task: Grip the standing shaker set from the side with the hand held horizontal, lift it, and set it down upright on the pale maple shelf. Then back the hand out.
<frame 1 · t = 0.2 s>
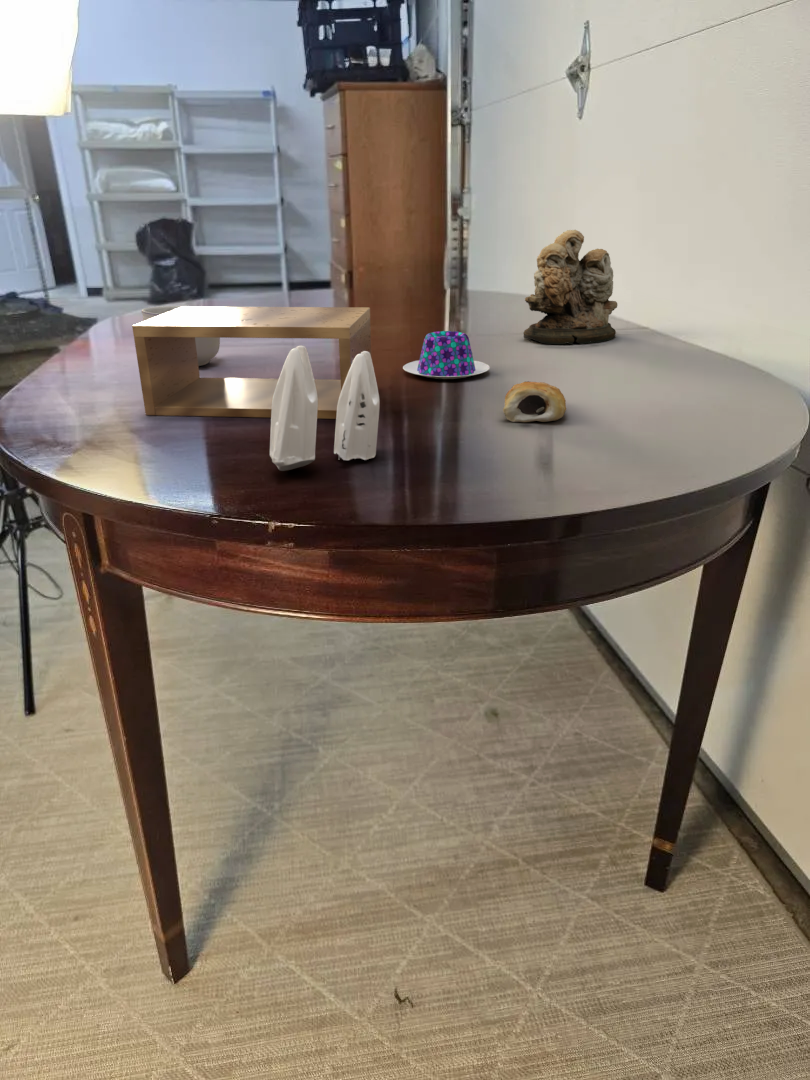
pastry: (533, 416, 87), on the table
owl figurine: (567, 339, 131), on the table
shaker set: (325, 466, 72), on the table
teacup: (187, 367, 113), on the table
shelf: (265, 400, 94), on the table
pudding: (446, 374, 107), on the table
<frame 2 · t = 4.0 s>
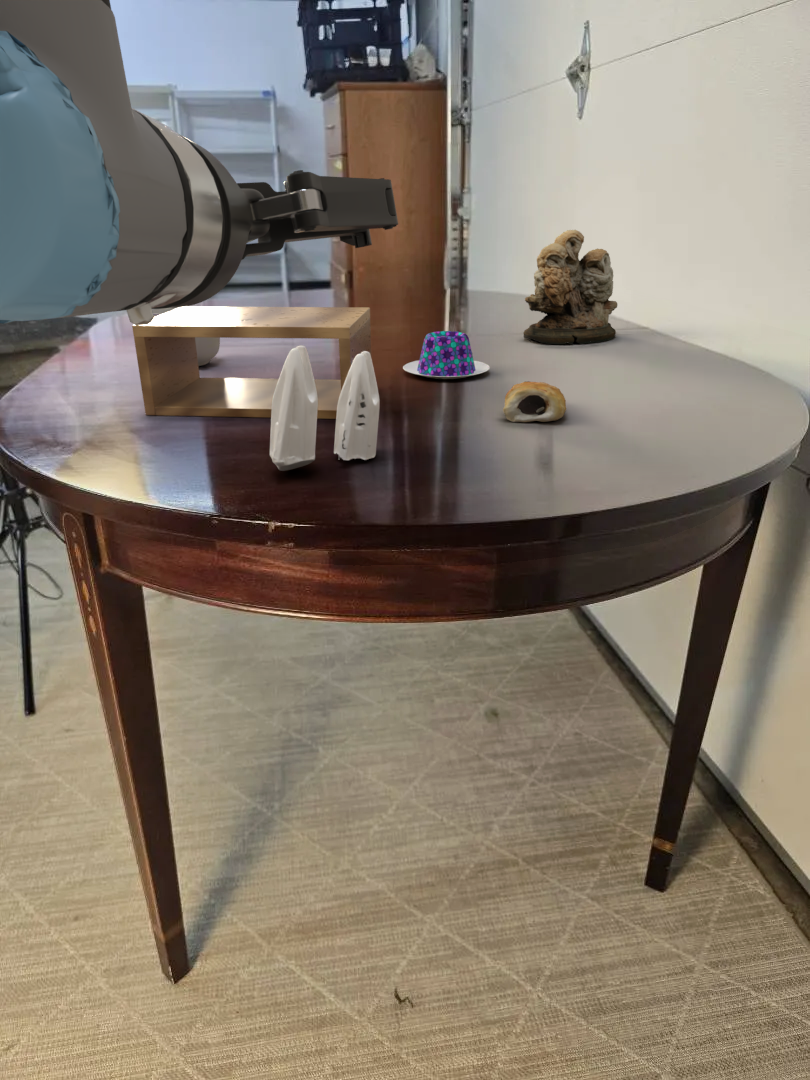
hand: (258, 243, 53), 20 cm above the table, tool horizontal, fingers open, 13 cm apart
nothing on the table moved.
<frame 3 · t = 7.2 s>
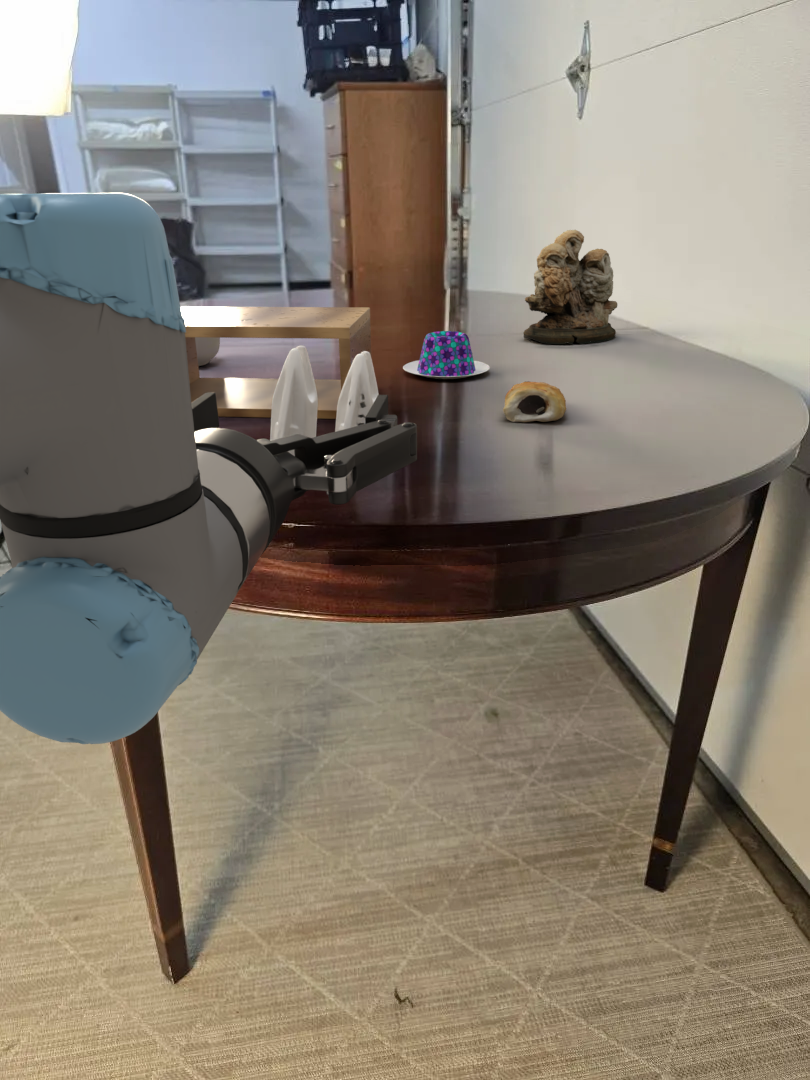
hand: (297, 410, 60), 8 cm above the table, tool horizontal, fingers open, 13 cm apart
nothing on the table moved.
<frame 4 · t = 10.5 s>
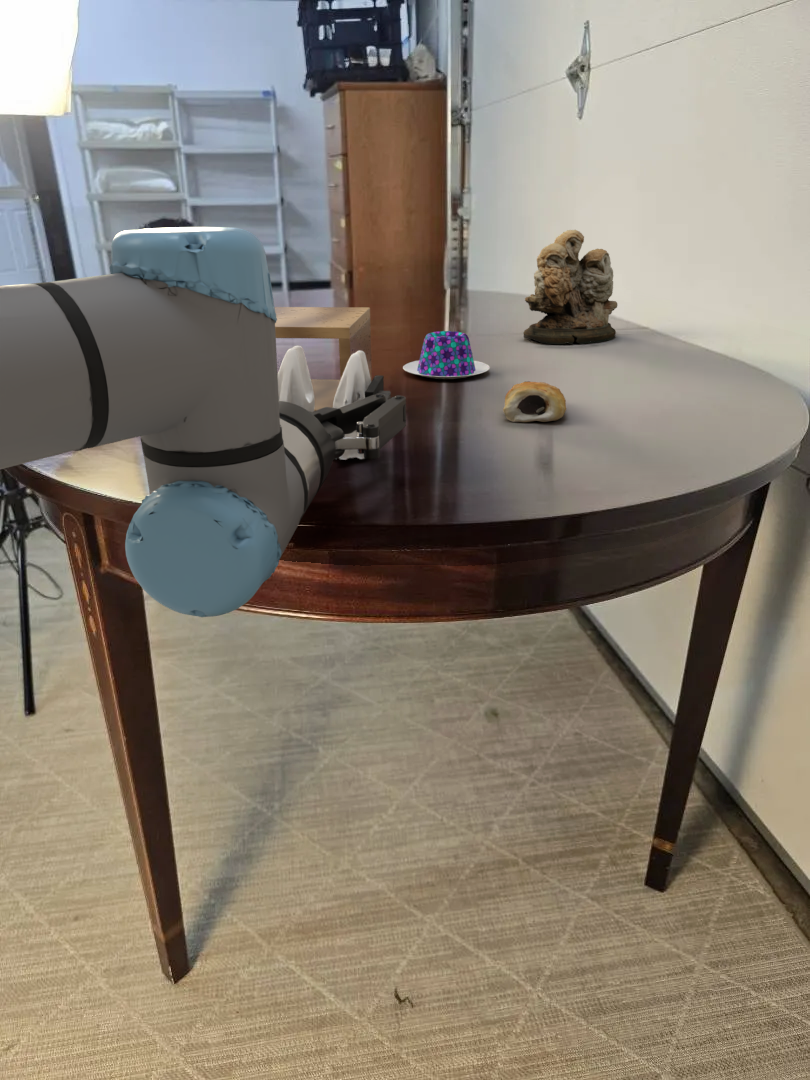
hand: (332, 389, 73), 6 cm above the table, tool horizontal, fingers closed on shaker set, 8 cm apart
shaker set: (321, 466, 72), on the table, touching gripper
everything else where it was.
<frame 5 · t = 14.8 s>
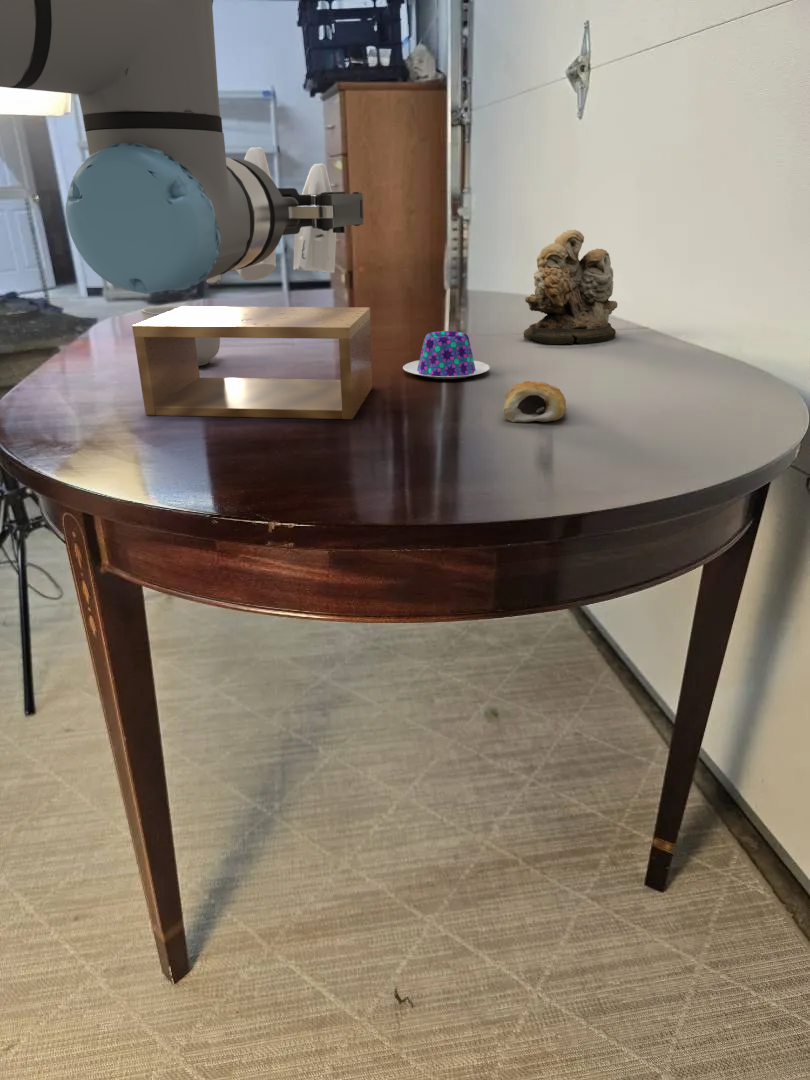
hand: (296, 207, 75), 22 cm above the table, tool horizontal, fingers closed on shaker set, 8 cm apart
shaker set: (285, 280, 73), point 15 cm above the table, touching gripper
everything else where it was.
when the fingers open (16 cm above the table, at t = 19.0 s): shaker set stays where it is, resting on shelf.
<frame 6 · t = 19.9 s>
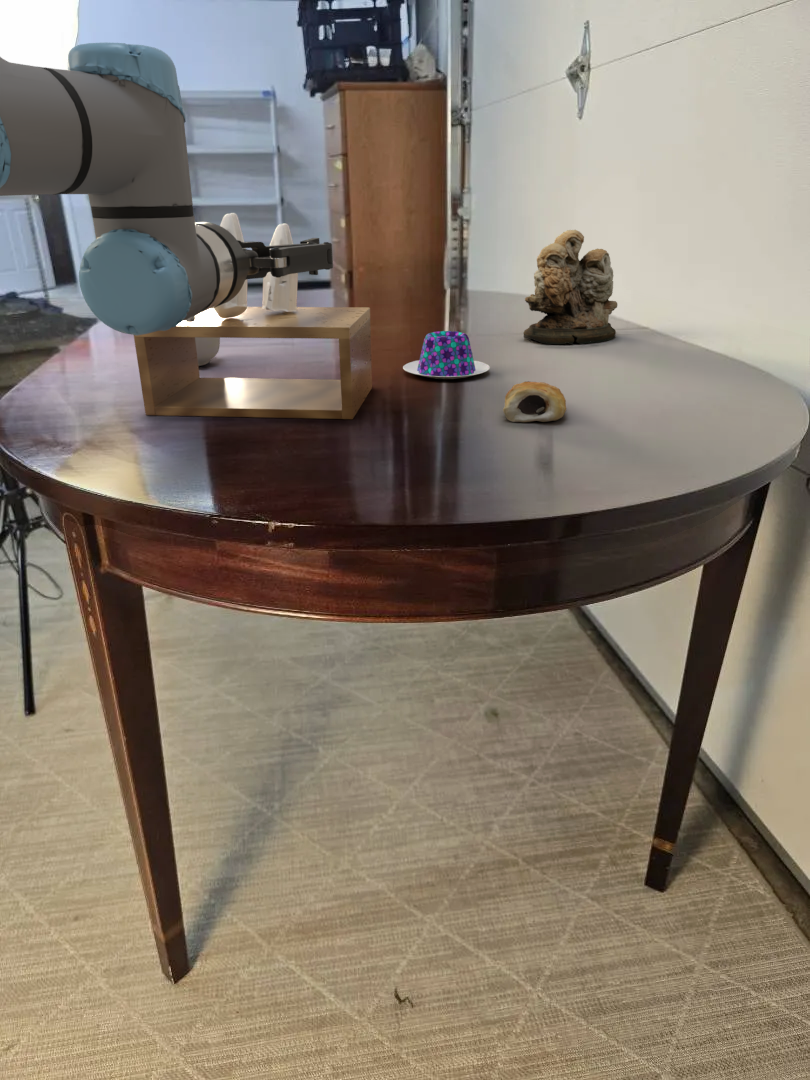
hand: (259, 250, 89), 17 cm above the table, tool horizontal, fingers open, 13 cm apart
shaker set: (255, 317, 90), point 10 cm above the table, touching shelf
everything else where it was.
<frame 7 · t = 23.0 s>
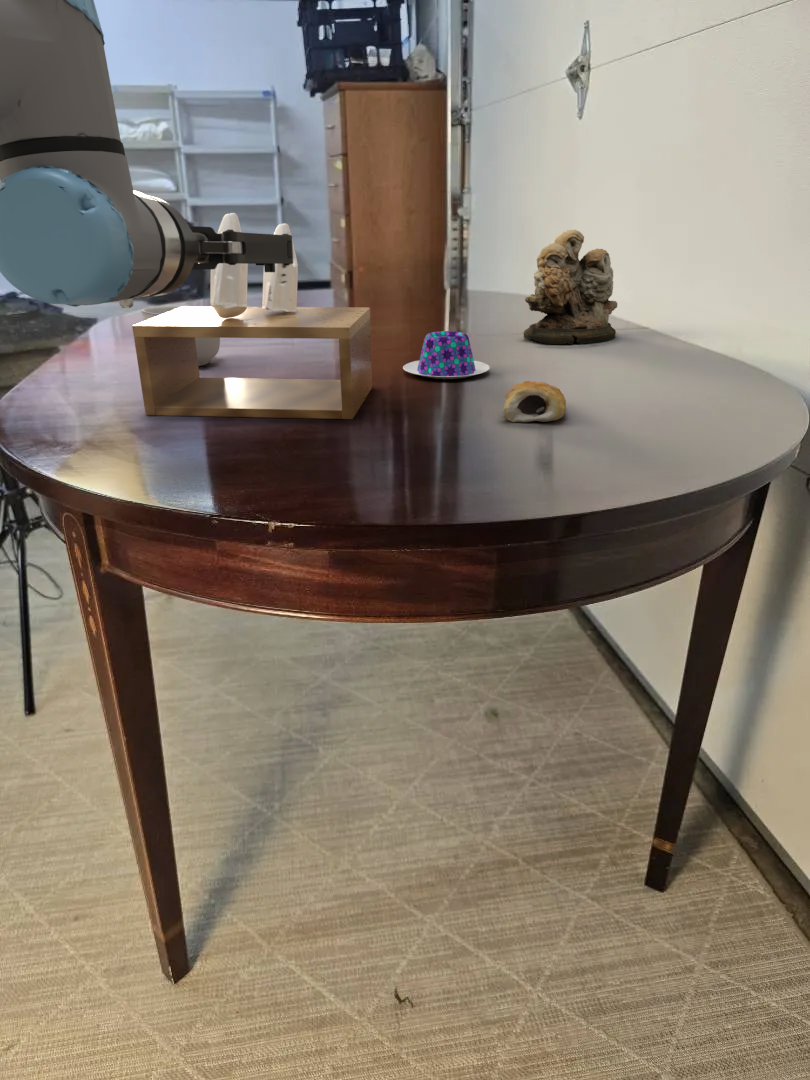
hand: (203, 250, 78), 18 cm above the table, tool horizontal, fingers open, 13 cm apart
nothing on the table moved.
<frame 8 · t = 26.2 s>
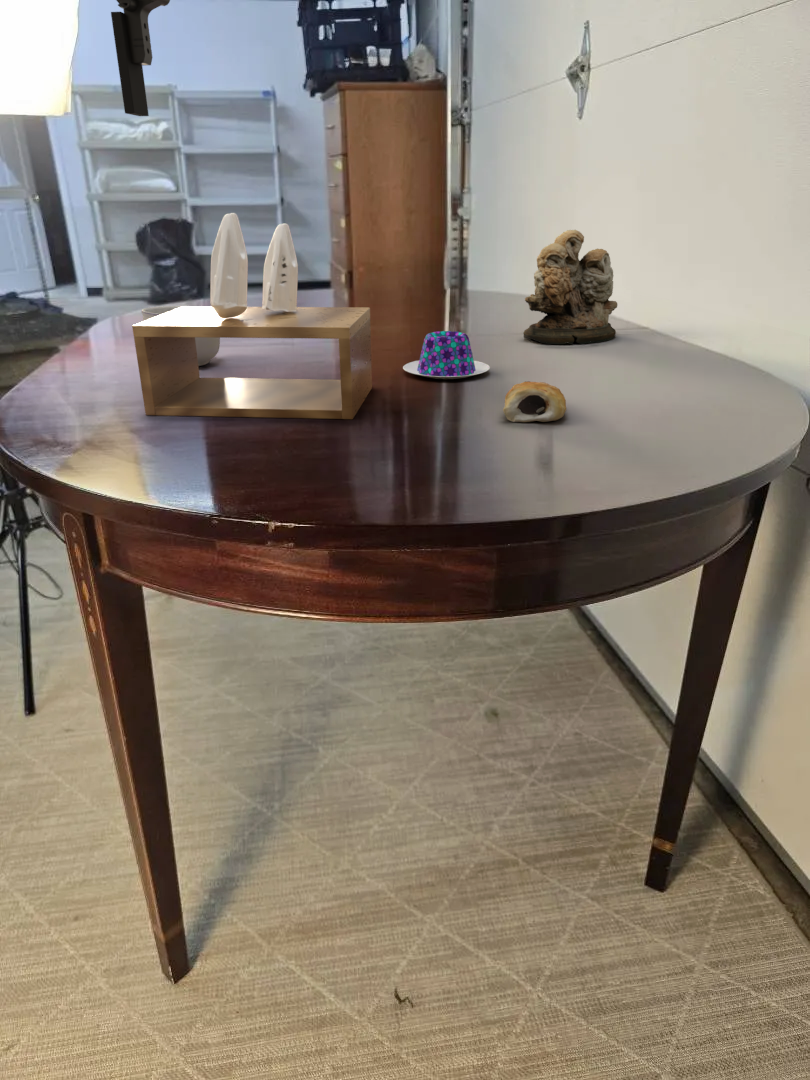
hand: (54, 117, 61), 29 cm above the table, tool pointing down, fingers open, 13 cm apart
nothing on the table moved.
at the end: shaker set inside the target area on the shelf (0.3 cm from its centre), point 9.8 cm above the shelf's base; shaker set tilted 0°; the gripper is holding nothing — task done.
